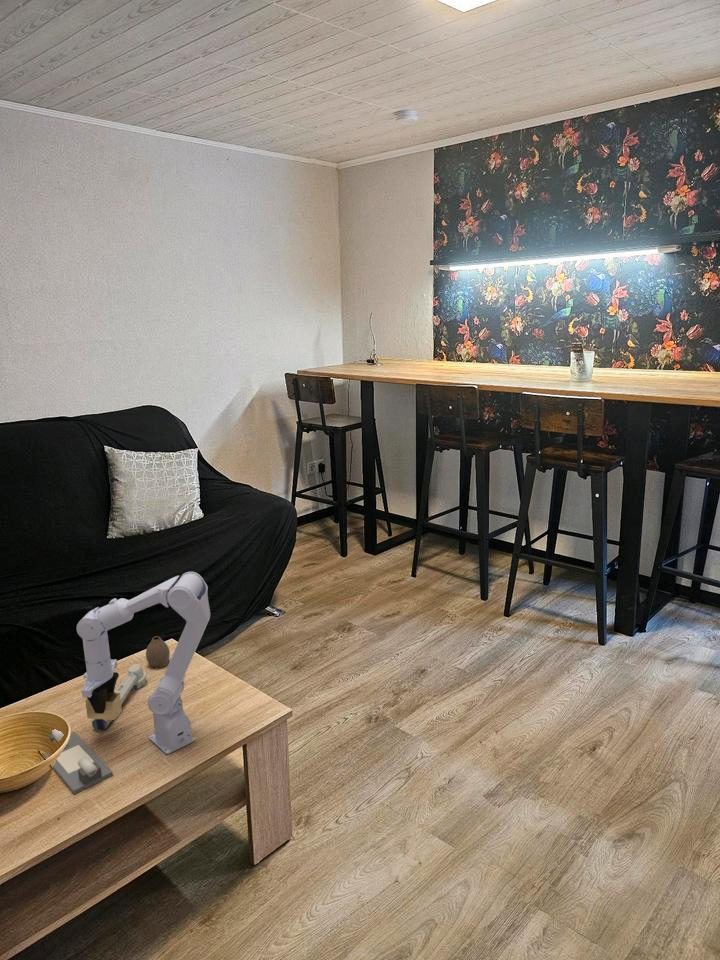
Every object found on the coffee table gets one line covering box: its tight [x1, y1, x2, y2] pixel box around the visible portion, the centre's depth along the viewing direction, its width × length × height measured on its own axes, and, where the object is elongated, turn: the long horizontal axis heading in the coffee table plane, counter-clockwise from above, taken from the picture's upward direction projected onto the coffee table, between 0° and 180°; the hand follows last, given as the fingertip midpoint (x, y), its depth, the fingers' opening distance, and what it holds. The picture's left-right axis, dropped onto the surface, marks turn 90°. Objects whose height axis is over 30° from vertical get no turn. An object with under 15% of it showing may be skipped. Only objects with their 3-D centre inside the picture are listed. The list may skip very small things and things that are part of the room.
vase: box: [145, 636, 171, 669], centre depth 204 cm, size 7×7×9 cm
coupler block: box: [85, 692, 123, 721], centre depth 168 cm, size 7×4×5 cm, turn 84°
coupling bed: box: [42, 729, 114, 795], centre depth 160 cm, size 22×9×5 cm, turn 44°
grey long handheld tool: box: [91, 663, 147, 731], centre depth 185 cm, size 5×7×25 cm
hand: (104, 707), depth 168 cm, fingers closed on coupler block, 4 cm apart
